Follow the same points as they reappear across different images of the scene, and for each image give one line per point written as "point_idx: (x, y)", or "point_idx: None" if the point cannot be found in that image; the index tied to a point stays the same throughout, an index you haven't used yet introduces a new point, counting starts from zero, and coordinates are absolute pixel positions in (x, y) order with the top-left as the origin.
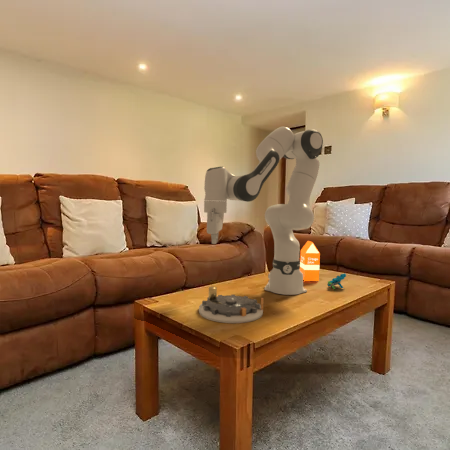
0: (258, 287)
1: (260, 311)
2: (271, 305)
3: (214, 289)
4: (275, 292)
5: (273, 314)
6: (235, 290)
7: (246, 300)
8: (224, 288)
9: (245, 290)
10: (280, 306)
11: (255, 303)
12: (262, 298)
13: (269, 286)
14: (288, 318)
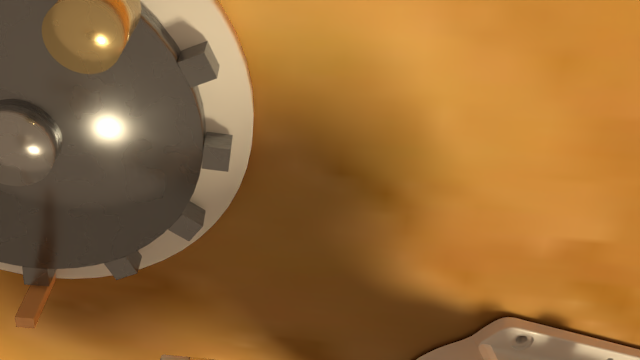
0: (574, 293)
1: (2, 263)
2: (203, 311)
3: (52, 50)
4: (425, 357)
5: (51, 301)
6: (535, 163)
7: (96, 226)
8: (610, 92)
9: (522, 221)
10: (191, 342)
11: (42, 266)
12: (18, 322)
13: (484, 356)
14: (8, 346)
